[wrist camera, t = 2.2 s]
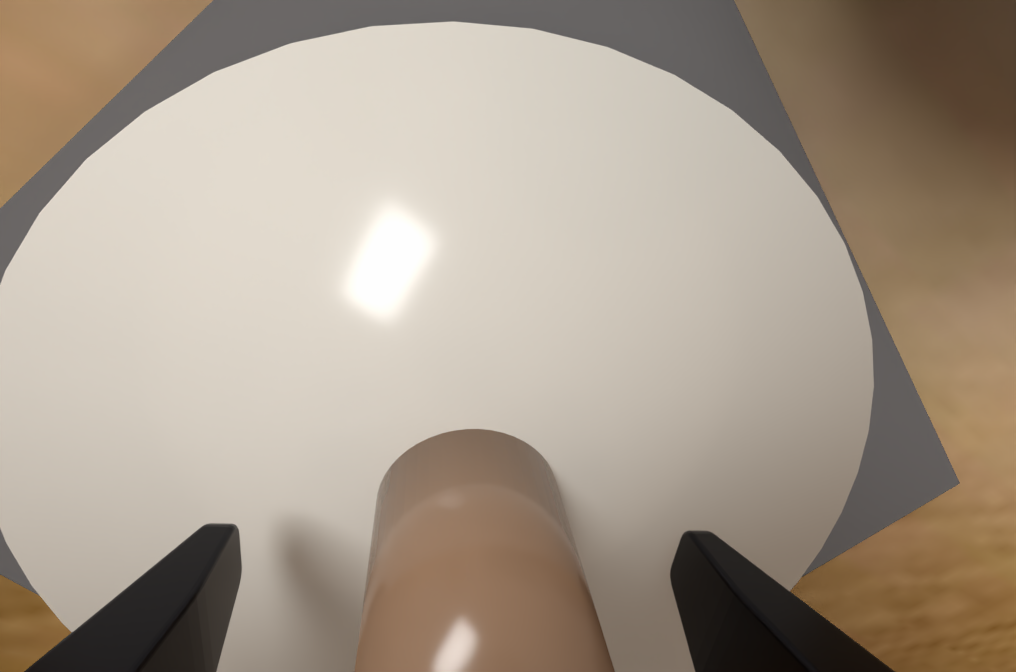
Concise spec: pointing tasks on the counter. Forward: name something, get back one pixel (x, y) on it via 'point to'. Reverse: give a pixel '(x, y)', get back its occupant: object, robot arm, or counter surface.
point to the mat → (587, 17)
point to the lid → (431, 354)
